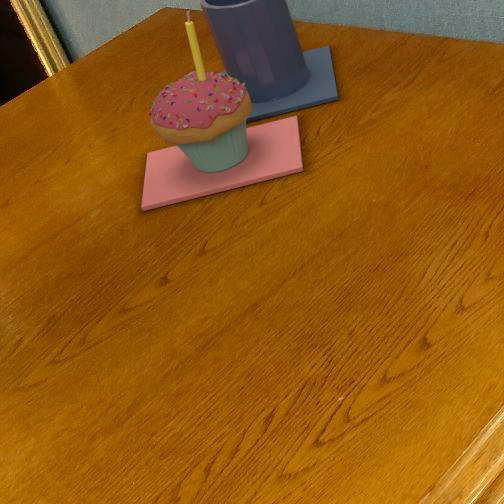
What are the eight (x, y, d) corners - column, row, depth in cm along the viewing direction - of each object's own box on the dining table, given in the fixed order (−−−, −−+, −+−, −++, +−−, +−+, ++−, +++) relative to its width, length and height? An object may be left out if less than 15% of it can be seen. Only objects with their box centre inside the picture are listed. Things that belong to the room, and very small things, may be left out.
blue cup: (237, 114, 95) (198, 15, 88) (236, 81, 99) (200, -15, 93) (313, 95, 95) (280, -5, 88) (309, 63, 100) (278, -34, 93)
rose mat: (143, 211, 85) (141, 207, 85) (149, 156, 91) (147, 152, 91) (303, 171, 85) (302, 166, 85) (298, 119, 92) (296, 115, 92)
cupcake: (261, 125, 91) (209, -15, 82) (275, 166, 86) (220, 21, 77) (170, 153, 90) (107, 15, 81) (177, 196, 85) (111, 53, 76)
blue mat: (213, 131, 93) (211, 126, 93) (214, 77, 101) (213, 73, 101) (339, 99, 93) (337, 95, 93) (330, 49, 101) (329, 45, 101)
